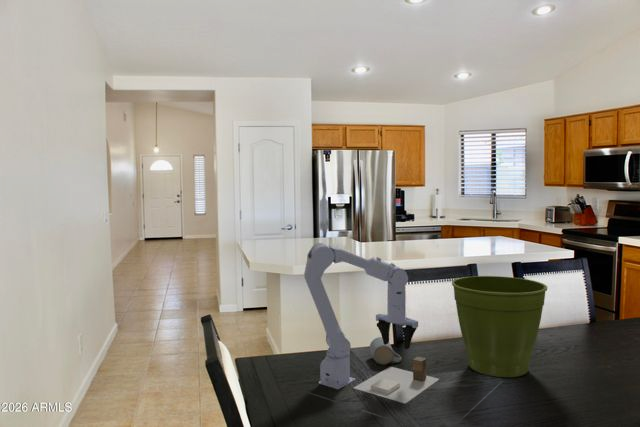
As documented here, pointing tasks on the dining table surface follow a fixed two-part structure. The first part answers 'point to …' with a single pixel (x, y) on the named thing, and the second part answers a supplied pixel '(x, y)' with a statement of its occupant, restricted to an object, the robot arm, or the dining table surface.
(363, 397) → the dining table surface
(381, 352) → the ceramic mug
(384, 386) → the tile
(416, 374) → the wooden block
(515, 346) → the plant pot
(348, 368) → the robot arm
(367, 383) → the mat
